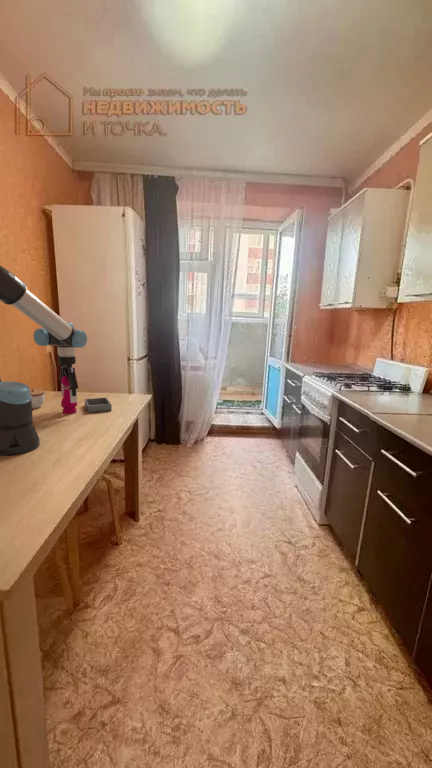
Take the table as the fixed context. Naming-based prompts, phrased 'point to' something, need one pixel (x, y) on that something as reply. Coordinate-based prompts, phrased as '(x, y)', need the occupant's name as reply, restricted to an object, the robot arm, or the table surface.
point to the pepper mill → (67, 398)
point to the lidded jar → (37, 398)
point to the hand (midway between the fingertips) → (69, 399)
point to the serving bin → (97, 405)
